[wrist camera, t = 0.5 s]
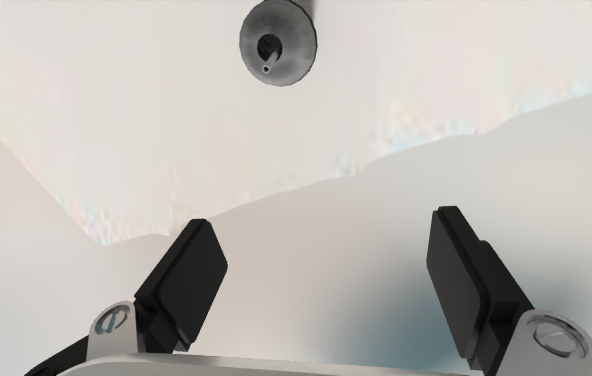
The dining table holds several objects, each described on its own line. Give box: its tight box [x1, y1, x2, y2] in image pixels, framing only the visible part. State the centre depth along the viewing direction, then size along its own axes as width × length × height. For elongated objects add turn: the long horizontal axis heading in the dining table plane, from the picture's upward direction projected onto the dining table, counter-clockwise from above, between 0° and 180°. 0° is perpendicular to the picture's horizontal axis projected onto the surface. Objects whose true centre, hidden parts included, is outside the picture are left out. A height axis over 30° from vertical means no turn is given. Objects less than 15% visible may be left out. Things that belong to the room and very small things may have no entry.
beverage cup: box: [239, 0, 318, 86], centre depth 26 cm, size 7×7×20 cm
